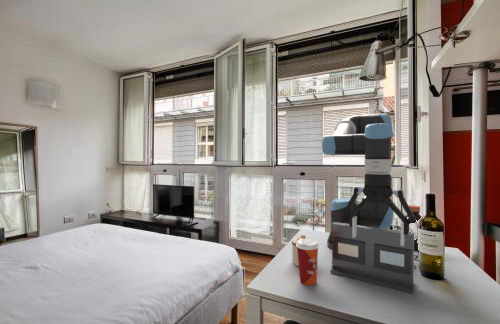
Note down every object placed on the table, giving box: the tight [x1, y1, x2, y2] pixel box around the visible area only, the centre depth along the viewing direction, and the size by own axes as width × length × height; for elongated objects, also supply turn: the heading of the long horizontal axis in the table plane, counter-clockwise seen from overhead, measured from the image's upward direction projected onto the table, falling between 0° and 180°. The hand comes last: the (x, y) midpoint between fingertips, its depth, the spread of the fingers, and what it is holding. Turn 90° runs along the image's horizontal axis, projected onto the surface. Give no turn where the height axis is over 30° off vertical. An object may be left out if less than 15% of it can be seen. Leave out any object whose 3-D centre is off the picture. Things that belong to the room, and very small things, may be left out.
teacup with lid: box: [291, 234, 310, 267], centre depth 104 cm, size 12×9×12 cm
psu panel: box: [329, 222, 415, 294], centre depth 90 cm, size 8×26×18 cm, turn 56°
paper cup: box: [296, 238, 320, 286], centre depth 88 cm, size 8×8×14 cm
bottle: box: [405, 204, 422, 252], centre depth 119 cm, size 7×7×20 cm
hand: (377, 240), depth 79 cm, fingers open, 13 cm apart
